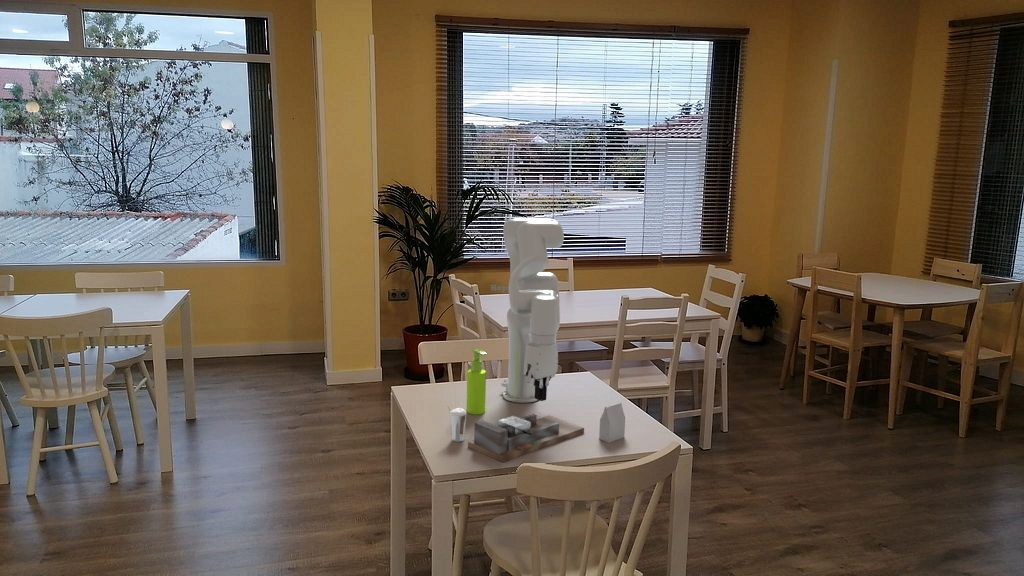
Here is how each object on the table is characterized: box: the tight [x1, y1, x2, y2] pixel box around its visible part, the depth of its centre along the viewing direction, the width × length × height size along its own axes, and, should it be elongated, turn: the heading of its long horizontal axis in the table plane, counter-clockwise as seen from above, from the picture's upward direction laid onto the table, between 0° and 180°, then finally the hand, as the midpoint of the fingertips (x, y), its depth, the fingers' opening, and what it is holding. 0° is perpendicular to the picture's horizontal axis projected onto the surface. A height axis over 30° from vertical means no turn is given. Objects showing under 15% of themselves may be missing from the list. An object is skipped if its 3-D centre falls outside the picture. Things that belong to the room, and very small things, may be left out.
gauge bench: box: [467, 413, 585, 463], centre depth 210 cm, size 33×14×8 cm, turn 134°
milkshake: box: [447, 406, 468, 443], centre depth 208 cm, size 4×5×10 cm
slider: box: [497, 415, 532, 439], centre depth 204 cm, size 9×10×5 cm
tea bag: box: [598, 402, 626, 444], centre depth 213 cm, size 4×7×10 cm, turn 131°
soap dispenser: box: [466, 348, 488, 415], centre depth 231 cm, size 6×7×20 cm
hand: (540, 399), depth 213 cm, fingers closed
